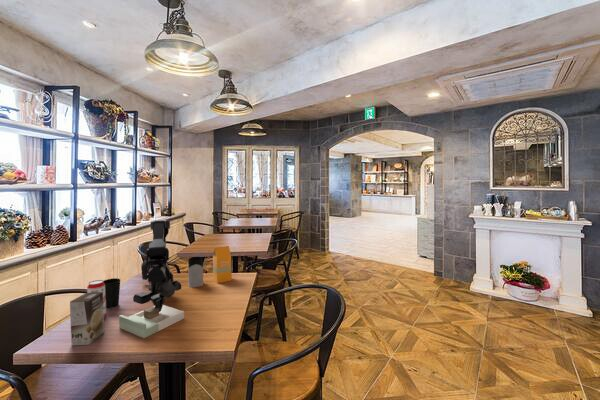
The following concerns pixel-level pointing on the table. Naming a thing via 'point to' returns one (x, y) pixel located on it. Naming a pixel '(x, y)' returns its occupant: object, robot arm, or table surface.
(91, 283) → the beer can
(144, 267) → the milk frother
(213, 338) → the table surface
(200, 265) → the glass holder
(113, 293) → the cup
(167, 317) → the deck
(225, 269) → the orange juice
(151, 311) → the block
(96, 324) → the coffee box
